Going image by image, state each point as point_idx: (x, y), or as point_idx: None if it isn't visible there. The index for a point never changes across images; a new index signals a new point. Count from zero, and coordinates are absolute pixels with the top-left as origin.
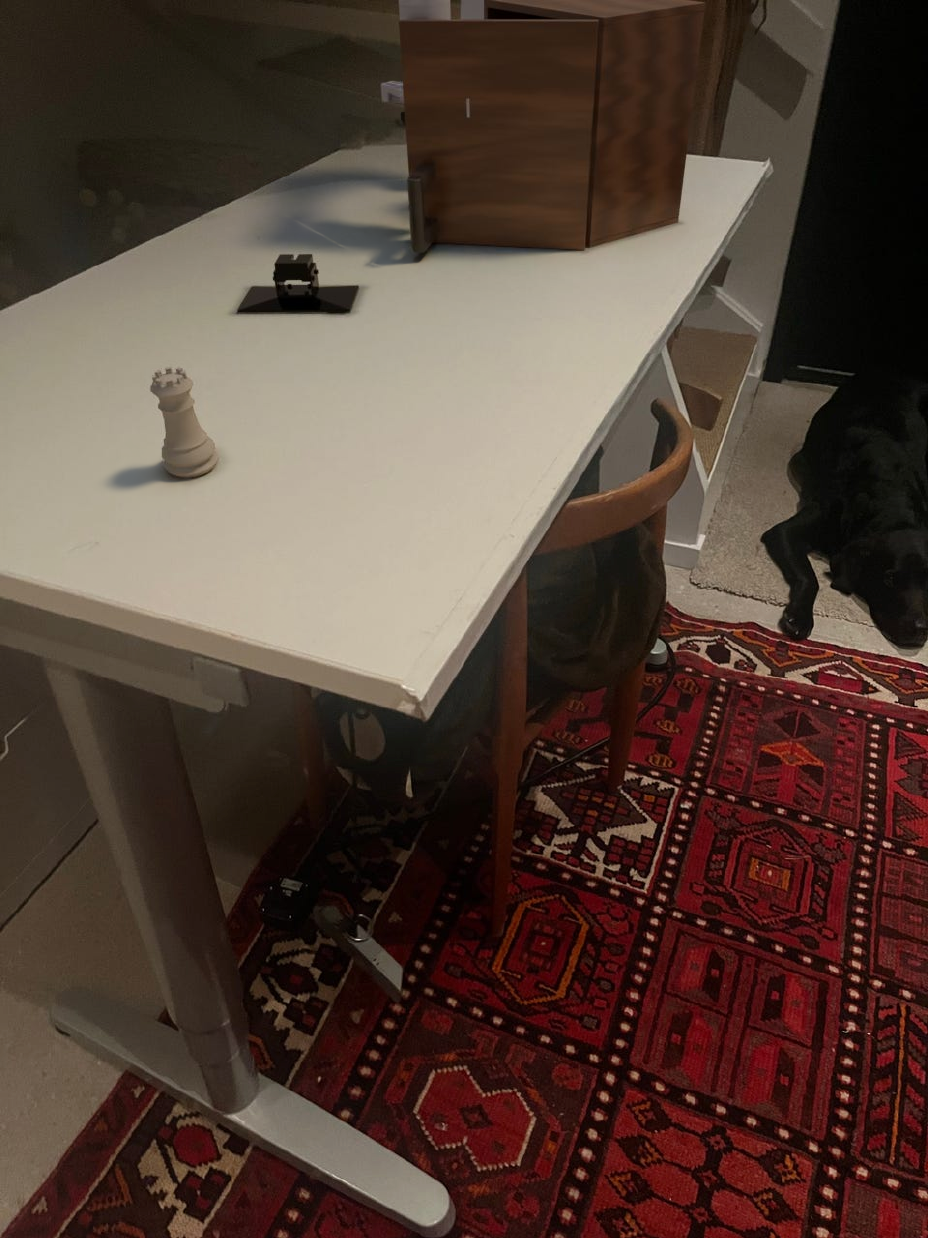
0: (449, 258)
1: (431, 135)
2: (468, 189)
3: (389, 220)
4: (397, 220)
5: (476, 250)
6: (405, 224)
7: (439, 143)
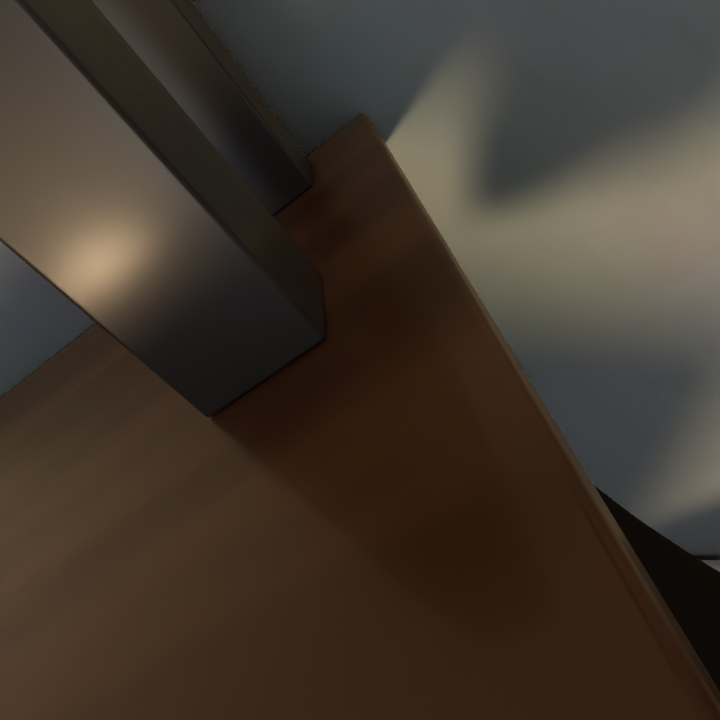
0: None
1: (186, 655)
2: (64, 437)
3: (681, 237)
4: (648, 262)
5: None
6: (582, 255)
7: (117, 606)
